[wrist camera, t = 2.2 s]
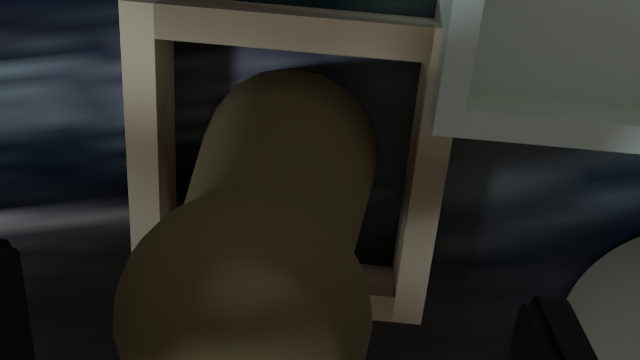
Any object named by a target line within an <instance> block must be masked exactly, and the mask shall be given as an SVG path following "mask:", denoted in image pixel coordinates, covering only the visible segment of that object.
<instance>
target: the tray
mask: <svg viewBox="0 0 640 360" xmlns="http://www.w3.org/2000/svg"><path fill="white" fill-rule="evenodd" d="M434 18H435V20H436V21H437V22H438V23H439V25H440V26H441V27H442V28H443V29H442V36H441V42H440V49H439V55H438V62H437V68H436V75H435V81H434V88H433V94H432V101H431V107H430V114H429V120H428V125H429V128H430V131H431V134H432V135H433V136H444V137H455V138H466V139H477V140H488V141H499V142H510V143H521V144H532V145H543V146H554V147H565V148H576V149H587V150H598V151H609V152H620V153H631V154H640V0H437V3H436V10H435V17H434Z"/></svg>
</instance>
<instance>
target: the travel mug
mask: <svg viewBox="0 0 640 360" xmlns="http://www.w3.org/2000/svg"><path fill="white" fill-rule="evenodd" d="M567 300H568V301H569V303H570V304H571V306H572V308H573V310H574V312H575V314H576V316H577V318H578V320H579V322H580V324H581V326H582V328H583V330H584V332H585V334H586V336H587V338H588V340H589V342H590V344H591V346H592V348H593V350H594V352H595V354H596V356H597V358H598V360H640V237H638V238H635V239H633V240H631V241H628V242H626V243H624V244H622V245H620V246H619V247H617V248H615V249H613V250H612V251H610V252H609V253H607V254H606V255H604V256H603V257H602V258H600V259H599V260H598V261H597V262H595V263H594V264H593V265H592V266H591V267H590V268H589V269H588V270H587V271H586V272H585V273H584V274H583V275H582V277H581V278H580V279H579V280H578V281H577V283H576V284H575V286H574V287H573V289H572V290H571V292H570V294H569V295H568V297H567Z"/></svg>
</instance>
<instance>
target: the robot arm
mask: <svg viewBox="0 0 640 360" xmlns="http://www.w3.org/2000/svg"><path fill="white" fill-rule="evenodd" d="M0 360H35V355H34V348H33V341H32V334H31V328H30V321H29V314H28V307H27V300H26V293H25V287H24V280H23V273H22V266H21V259H20V254H19V251H18V250H17V249H16V248H12V246H11V244H10V242H9V241H8V240H6V239H0ZM507 360H598V358H597V356H596V354H595V352H594V350H593V348H592V346H591V344H590V342H589V340H588V338H587V336H586V334H585V332H584V330H583V328H582V326H581V324H580V322H579V320H578V318H577V316H576V314H575V312H574V310H573V308H572V306H571V304H570V303H569V301H568V300H565V299H555V298H546V297H537V296H535V297H534V298H533V299H532V301H531V303H530V304H527V303H523V304H522V305H521V306H520V309H519V313H518V317H517V321H516V325H515V329H514V333H513V336H512V340H511V344H510V348H509V352H508V356H507Z"/></svg>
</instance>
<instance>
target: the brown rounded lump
mask: <svg viewBox="0 0 640 360" xmlns="http://www.w3.org/2000/svg"><path fill="white" fill-rule="evenodd" d="M378 158H379V156H378V148H377V140H376V133H375V130H374V128H373V126H372V124H371V122H370V120H369V118H368V115H367V113H366V111H365V109H364V107H363V106H362V105H361V104H360V103H359V102H358V101H357V100H356V99H355V98H354V97H353V96H352V95H351V94H350V93H349V92H348V91H347V90H346V89H345V88H344V87H343V86H341V85H339V84H337V83H335V82H333V81H331V80H329V79H327V78H325V77H324V76H322V75H320V74H318V73H312V72H306V71H300V70H295V69H283V70H276V71H269V72H262V73H259V74H257V75H255V76H253V77H251V78H249V79H247V80H245V81H243V82H241V83H239V84H237V85H236V86H235V87H234V88H233V89H232V90H231V91H230V92H229V93H228V94H227V95H226V96H225V97H224V98H223V99H222V100H221V101H220V102H219V103H218V104H217V106H216V108H215V110H214V112H213V115H212V117H211V119H210V121H209V123H208V125H207V128H206V131H205V134H204V137H203V141H202V144H201V148H200V151H199V154H198V158H197V161H196V165H195V168H194V172H193V175H192V178H191V182H190V185H189V189H188V192H187V195H186V199H185V202H184V205H182V206H180V207H178V208H176V209H174V210H173V211H171V212H169V213H167V214H166V215H165V216H164V217H163V218H162V219H161V220H160V221H159V222H158V223H157V224H156V225H155V226H154V227H153V228H152V229H151V230H150V231H149V232H148V233H147V234H146V235H145V236H144V237H143V238H142V239H141V240H140V242H139V243H138V244H137V246H136V247H135V248H134V250H133V251H132V253H131V255H130V257H129V259H128V262H127V264H126V266H125V268H124V271H123V273H122V275H121V277H120V280H119V282H118V284H117V289H116V294H115V299H114V313H113V337H114V340H115V343H116V346H117V349H118V352H119V355H120V358H121V360H365V358H366V354H367V350H368V345H369V341H370V337H371V333H372V329H373V321H372V308H371V301H370V294H369V287H368V280H367V276H366V274H365V272H364V270H363V268H362V266H361V264H360V263H359V261H358V259H357V257H356V255H355V253H354V251H355V247H356V244H357V240H358V236H359V233H360V229H361V225H362V222H363V218H364V215H365V211H366V207H367V204H368V200H369V196H370V193H371V189H372V185H373V182H374V177H375V172H376V168H377V163H378Z"/></svg>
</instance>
